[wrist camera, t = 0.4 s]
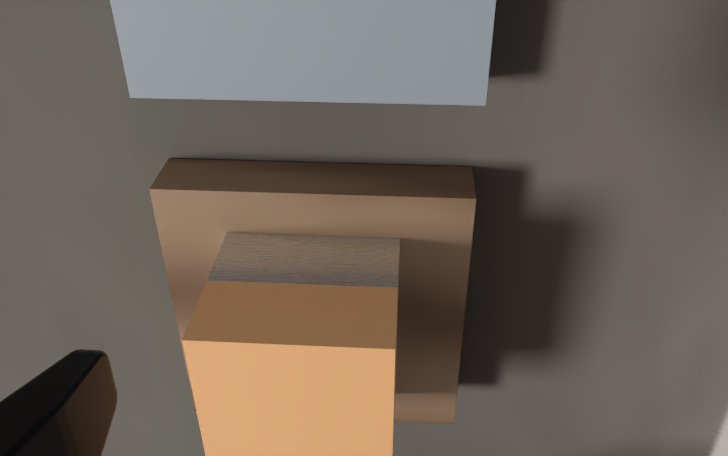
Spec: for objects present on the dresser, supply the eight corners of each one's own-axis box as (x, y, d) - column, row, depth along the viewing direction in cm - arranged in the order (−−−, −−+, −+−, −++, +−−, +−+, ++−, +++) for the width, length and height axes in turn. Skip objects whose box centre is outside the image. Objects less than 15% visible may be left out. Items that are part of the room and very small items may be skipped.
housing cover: (393, 449, 23) (390, 515, 21) (233, 440, 24) (215, 505, 22) (397, 287, 20) (395, 349, 17) (206, 280, 20) (182, 340, 18)
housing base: (395, 393, 25) (393, 449, 23) (248, 386, 26) (233, 440, 24) (399, 237, 22) (397, 287, 20) (226, 231, 22) (206, 280, 20)
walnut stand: (451, 384, 28) (454, 423, 26) (208, 373, 28) (195, 411, 27) (472, 167, 22) (476, 198, 21) (168, 158, 23) (149, 189, 21)
